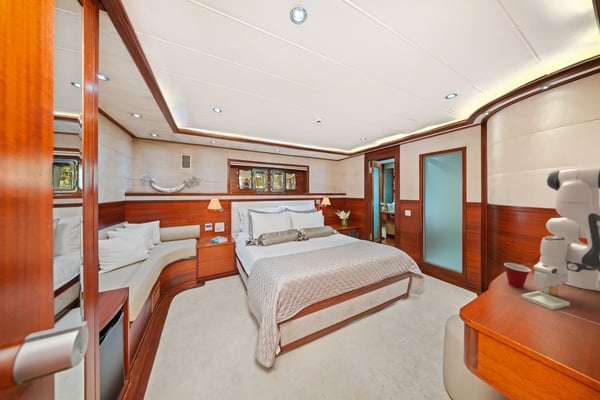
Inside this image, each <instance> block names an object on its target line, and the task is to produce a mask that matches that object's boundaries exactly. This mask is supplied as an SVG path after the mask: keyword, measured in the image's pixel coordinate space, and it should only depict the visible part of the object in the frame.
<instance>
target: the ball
mask: <svg viewBox="0 0 600 400" xmlns="http://www.w3.org/2000/svg"><path fill="white" fill-rule="evenodd" d="M549 290H551V293H549V295H552V296H556V295H559V290H558V289H557V288H555V287H553V286H550V288H549Z"/></svg>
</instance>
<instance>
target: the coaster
mask: <svg viewBox="0 0 600 400" xmlns="http://www.w3.org/2000/svg"><path fill="white" fill-rule="evenodd" d="M541 292H542V293H545V292H544V290H543V291H541ZM545 294H547V293H545ZM548 295H549V294H548ZM551 296H552V295H551ZM554 297H556V298H559V299H562V300H563V299H564V298H565V299H566V297H564V296H561V295H559V294H558V295H556V296H554Z"/></svg>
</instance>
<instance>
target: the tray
mask: <svg viewBox="0 0 600 400" xmlns="http://www.w3.org/2000/svg"><path fill="white" fill-rule="evenodd" d="M542 292H543V291H540V290H537V291H532V292H527V293H523V294H521V295H520V296H521V297H520V298H521V299H524V300H526V301H528V302H531V303H533V304H535V305H539V306H541V307H543V308H546V309H547V310H551V311H554V310H558V309H562V308H566V307H571V302H570V301H567V300H564V299H563V298H562V299H559V298H556V297H554V296H551V295H548V294H545V293H542Z"/></svg>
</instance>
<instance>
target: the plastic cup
mask: <svg viewBox="0 0 600 400" xmlns="http://www.w3.org/2000/svg"><path fill="white" fill-rule="evenodd" d="M503 265H504V268H505V273H506V279H507V283H508V285H509V286H511V287H514V288H516V289H517V288H518V289H523V288H524V286H525V283H526V280H527V278H528V275H529V274H530V272H531V271H532V269H530V268H529V267H527V266H524V265H522V264H518V263H513V262H505V263H503Z"/></svg>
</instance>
